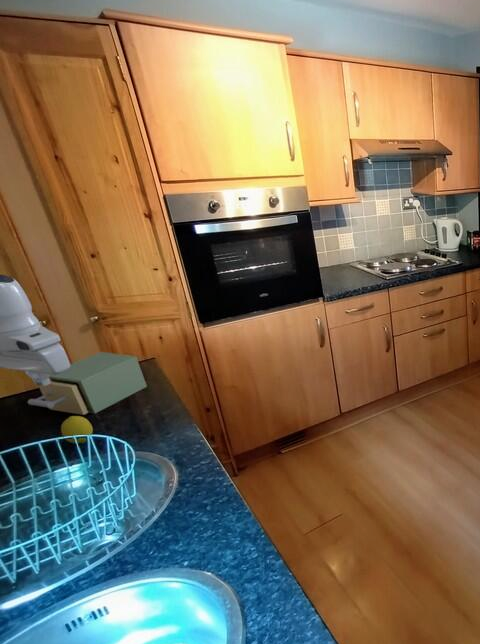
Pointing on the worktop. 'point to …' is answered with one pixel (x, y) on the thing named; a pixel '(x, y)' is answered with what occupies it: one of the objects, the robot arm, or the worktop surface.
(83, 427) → the lemon
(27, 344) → the robot arm
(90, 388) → the cabinet
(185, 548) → the worktop surface
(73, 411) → the drawer
